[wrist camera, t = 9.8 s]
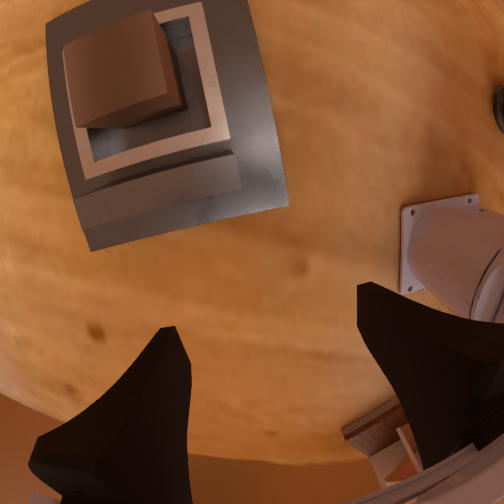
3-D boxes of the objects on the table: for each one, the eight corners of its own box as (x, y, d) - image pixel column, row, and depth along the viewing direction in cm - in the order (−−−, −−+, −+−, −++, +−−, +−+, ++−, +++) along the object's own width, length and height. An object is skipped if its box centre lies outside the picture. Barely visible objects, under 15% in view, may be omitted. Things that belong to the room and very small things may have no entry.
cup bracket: (235, -31, 13) (241, -79, 7) (285, 201, 20) (311, 229, 14) (53, 27, 13) (8, 5, 7) (96, 245, 20) (59, 285, 14)
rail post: (175, 52, 14) (150, 9, 8) (188, 109, 16) (167, 93, 9) (115, 72, 14) (63, 46, 8) (126, 128, 16) (75, 127, 9)
